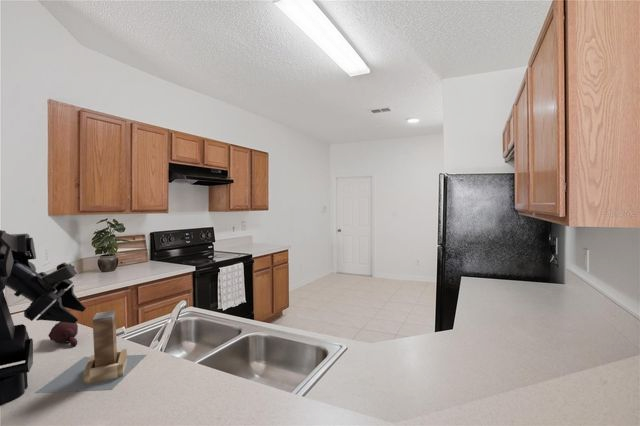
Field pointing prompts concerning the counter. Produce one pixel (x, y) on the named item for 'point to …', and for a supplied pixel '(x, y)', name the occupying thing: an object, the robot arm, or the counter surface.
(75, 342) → the maroon bulbous piece
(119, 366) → the socket
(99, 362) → the post
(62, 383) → the board
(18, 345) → the robot arm
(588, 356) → the counter surface
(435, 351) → the counter surface
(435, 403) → the counter surface
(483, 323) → the counter surface
